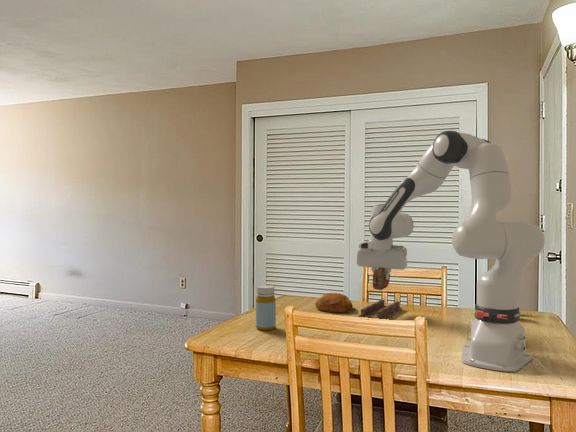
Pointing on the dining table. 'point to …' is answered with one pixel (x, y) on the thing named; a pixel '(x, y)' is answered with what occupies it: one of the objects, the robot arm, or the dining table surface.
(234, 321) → the dining table surface
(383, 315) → the rack
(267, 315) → the bottle
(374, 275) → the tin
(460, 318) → the dining table surface
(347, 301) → the round bread loaf
